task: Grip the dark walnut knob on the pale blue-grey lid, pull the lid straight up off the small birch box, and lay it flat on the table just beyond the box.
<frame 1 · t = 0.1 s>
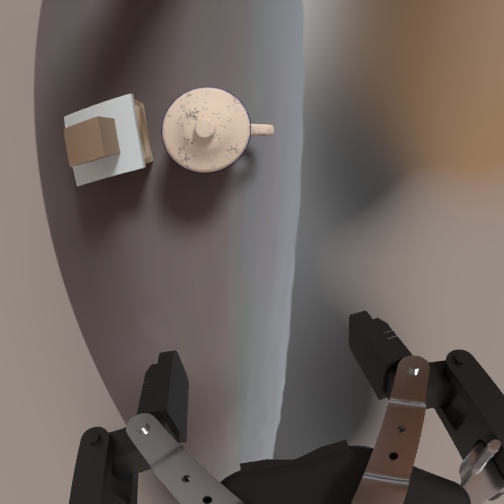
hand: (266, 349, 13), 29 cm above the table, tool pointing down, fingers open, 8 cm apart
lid: (104, 140, 29), point 6 cm above the table, touching box
teacup with lid: (219, 131, 36), on the table
box: (119, 139, 35), on the table
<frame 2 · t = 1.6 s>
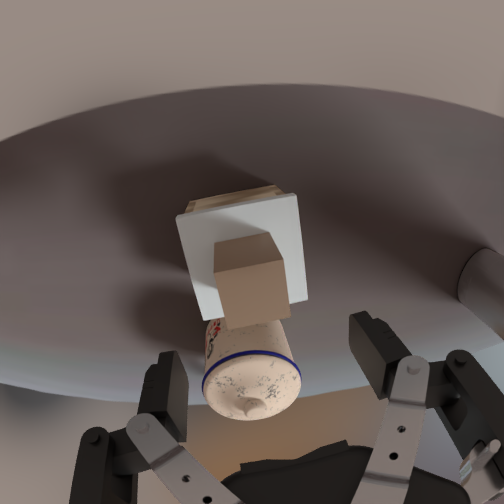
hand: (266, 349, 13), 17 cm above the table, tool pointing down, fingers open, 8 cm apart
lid: (245, 257, 23), point 6 cm above the table, touching box
teacup with lid: (244, 342, 34), on the table
box: (239, 233, 29), on the table
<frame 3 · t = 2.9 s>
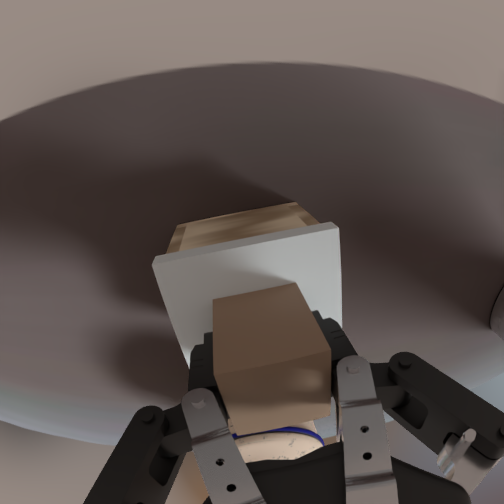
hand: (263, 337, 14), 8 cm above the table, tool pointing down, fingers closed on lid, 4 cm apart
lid: (258, 314, 16), point 6 cm above the table, touching box, gripper
teacup with lid: (250, 392, 26), on the table
box: (246, 267, 21), on the table
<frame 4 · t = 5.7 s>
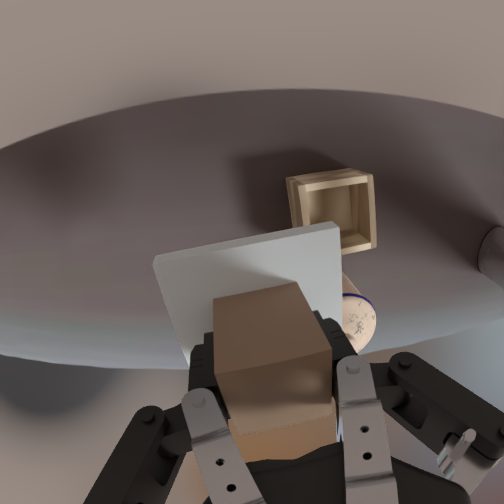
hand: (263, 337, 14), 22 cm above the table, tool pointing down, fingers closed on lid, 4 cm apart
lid: (258, 313, 16), point 20 cm above the table, touching gripper
teacup with lid: (316, 301, 40), on the table
box: (322, 205, 35), on the table
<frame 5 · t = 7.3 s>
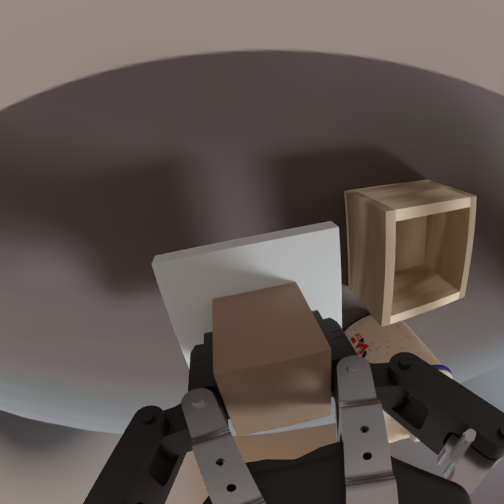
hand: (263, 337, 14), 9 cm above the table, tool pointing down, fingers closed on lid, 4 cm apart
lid: (258, 313, 16), point 7 cm above the table, touching gripper
teacup with lid: (364, 356, 28), on the table
box: (390, 232, 23), on the table
when the fingers open (4 cm above the table, at t = 8.5 s): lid drops 2 cm, point 1 cm above the table.
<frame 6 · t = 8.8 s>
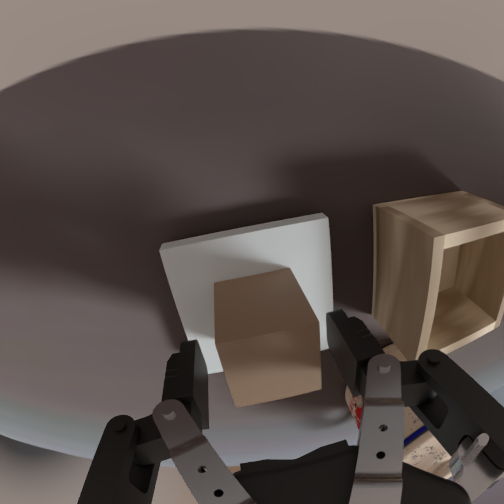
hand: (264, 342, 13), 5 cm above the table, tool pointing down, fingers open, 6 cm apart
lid: (255, 298, 17), point 1 cm above the table
teacup with lid: (382, 385, 24), on the table
box: (421, 252, 19), on the table
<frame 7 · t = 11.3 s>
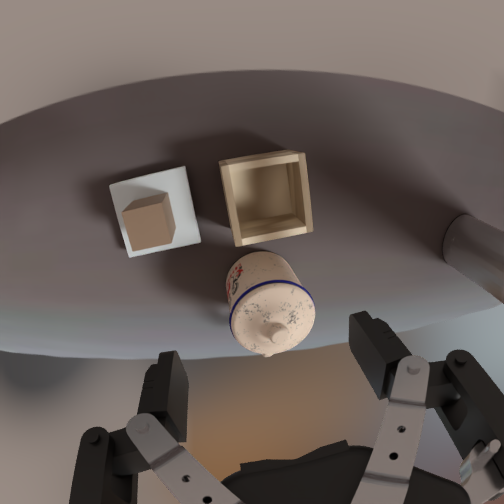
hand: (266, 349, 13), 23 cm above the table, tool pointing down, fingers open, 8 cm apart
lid: (155, 211, 32), point 1 cm above the table
teacup with lid: (259, 290, 39), on the table
box: (259, 189, 34), on the table
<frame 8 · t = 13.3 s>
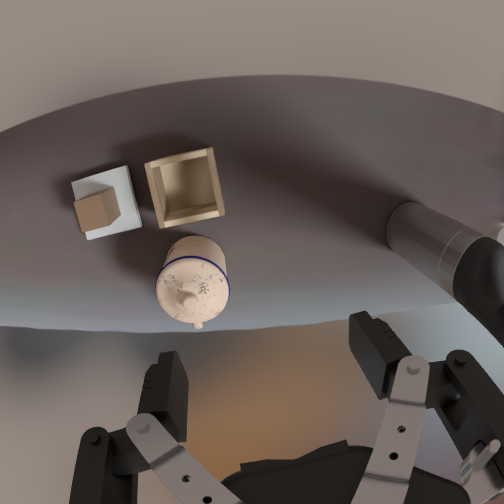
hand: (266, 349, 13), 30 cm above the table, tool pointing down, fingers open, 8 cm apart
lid: (107, 202, 38), point 1 cm above the table
teacup with lid: (196, 271, 44), on the table
box: (189, 181, 39), on the table
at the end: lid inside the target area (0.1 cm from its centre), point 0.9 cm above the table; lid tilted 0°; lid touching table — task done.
